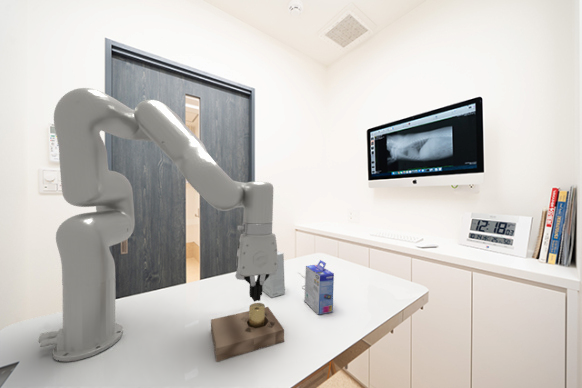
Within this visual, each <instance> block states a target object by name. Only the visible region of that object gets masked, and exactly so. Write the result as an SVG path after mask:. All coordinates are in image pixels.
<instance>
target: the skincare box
mask: <svg viewBox="0 0 582 388" xmlns="http://www.w3.org/2000/svg"><path fill="white" fill-rule="evenodd" d="M277 255H278V268H277V271H276V274H274V275H272V276H269V277H268V278H267V279H266V280H265V282H264V284H263V285H262V292H263V293H265V294H266V295H268V296H269V297H270V298H275V297H278V296H282V295H285V293H286V290H285V289H286V288H285V283H286V282H285V259H284V257H285V255H284V253H283V252H281V251H278V250H277Z"/></svg>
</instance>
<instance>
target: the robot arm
mask: <svg viewBox="0 0 582 388" xmlns="http://www.w3.org/2000/svg"><path fill="white" fill-rule="evenodd" d="M53 126H54V130H55V135H56V140H57V144H58V145H57V146H58V153H59V154H58V155H59V156H58V157H59V173H60V185H61V193H62V197H63V198H64V200H65V201H66V203H68V204H70V205H71V206H75V207H80V208H93V207H95V211H91V212H83V213H79V214H75V215H73V216H70V217H69V218H67V219H65V220H64V221H62V223H61V224H60V225H59V226H58V228H57V231H56V233H55V243H56V246H57V250H58V253H59V258H60V263H61V277H62V278H61V283H62V328H59V329H58V330H56V331H49V332H47V331H46V332H44V333H40V335H39V338H38V343H39V347H40V348H44V347H48V346H51V345H54V347H53V349H52V357H54V358H53V359H54V360H55V359H56V360H55V361H58V360H59V361H58V362H75V361H79V360H84V359H87V358H90V357H92V356H94V355H97V354H100V353H102V352H103V351H106V350H107V349H109V348H111V347H112V346H113V345H115V344H116V343H117V342H118V341H119V340H121V338H122V336H123V334H124V329H123V328H124V327H123V326H122V325H120V324H119V323H116V263H115V259H114V257H113V255H112V253H111V249H110V247H112V246H115V245H118V244H120V243H123V242H125V241H127V240H128V239H129V238H130V237H131V236H132V234H133V233H134V230H135V225H136V223H135V220H136V218H135V205H134V192H133V187H132V184H131V182H130V181H129V179H128V178H127V177H126V176H125V175H124V174H122V173H120V172H117V171H115V170H109V164H108V163H109V161H108V151H107V147H106V145H105V142H104V140H103V139H102V136H101V134H100V132H104V133H107V134H110V135H113V136H114V137H118V138H120V139H125V140H132V141H142V142H143V141H144V142H152V143H154V144H155V145H156V146H157V147H158V148H159V149H160V150H161V151H162V152H163V153H164V154H165V155H166V157H168V158H169V159H170V160H171V161H172V163H174V164H175V166H176V167H177V170H178V171H179V172H180V173H181V175H182V176H183V177H184V179H185V181H187V182H188V184H189V185H190V186H191V187H192V188H193V189H194V191H195V192H196V193H198V194H199V195H200V196H201V197H202V198H203V199H204V200H205V201H206V202H207V203H208V204H209V205H210V206H211V207H212V208H213V209H216V210H217V211H221V212H226V211H227V212H228V211H231V210H234V209H237V208H243V221H242V224H239V225H237V231H241V232H242V233H241V234H240V236H239V240H238V245H237V251H236V252H237V253H236V266H235V267H236V272H235V276H234V277H235V279H236V280H239V281H240V280H241V281H245V282H247V284H249V298H251V300H253V303H256V302H257V301H258V302H259V301H261V297H262V295H263V290H262V285H263V284H264V282H265V280H266V279H267V278H268V277H269V276H272V275H274V274H276V271H277V268H278V255H277V251H278V246H277V238H276V234H275V233H273V222H274V221H273V218H274V217H273V216H274V214H273V213H274V212H273V211H274V210H273V209H274V185H273V184H272V183H271V182H268V181H247V182H242V181H237V180H234V179H232V178H231V177H230V176H229V175H228V174H227V173H226V171H224V170H223V169H222V167H221V166H220V165H218V163H216V161H215V160H214V159H213V158H212V156H210V154H209V153H208V150H207V148H206V145H205V144H204V142H202V140H201V139H200V138H199V137H198V136H197V135H196V134H195V133H194V132H193V131H192V129H190V128H189V126H187V125H186V124H185V123H184V121H183V119H182V118H181V116H179V115H178V114H177V113H176V112H175V111H173V109H171V108H170V107H169V106H168V105H166V104H165V103H164V102H162V101H159V100H157V99H146V100H142V101H140V102H139V103H137V104H136V106H135V108H134V109H133V108H131V107H129V106H127V105H125V104H124V103H123V102H121V101H119V100H117V99H116V98H114V97H113V96H110V95H109V94H107V93H105V92H103V91H100V90H98V89H93V88H89V87H80V88H79V87H78V88H75V89H72V90H70V91H68V92H67V93H65V94H64V95H63V96H62V97H61V98H60V99H59V100H58V101H57V104H56V105H55V109H54V112H53ZM255 276H256V277H255Z"/></svg>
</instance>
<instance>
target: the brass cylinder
mask: <svg viewBox="0 0 582 388" xmlns="http://www.w3.org/2000/svg"><path fill="white" fill-rule="evenodd" d="M265 307H266V306H265V304H264V303H263V302H253V303H252V304H250V305H249V307H248V308H249V310H248V311H249V327H253V328H260V327H264V326H265Z"/></svg>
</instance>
